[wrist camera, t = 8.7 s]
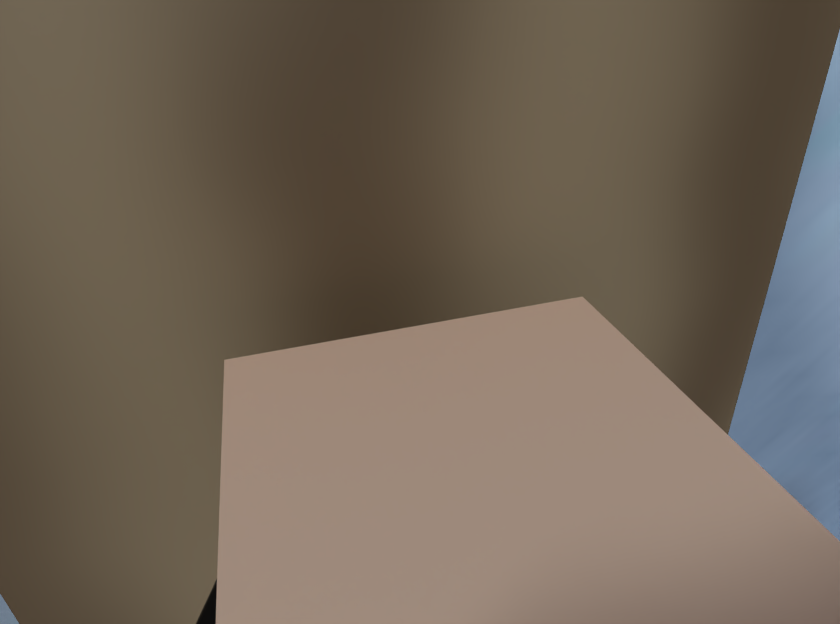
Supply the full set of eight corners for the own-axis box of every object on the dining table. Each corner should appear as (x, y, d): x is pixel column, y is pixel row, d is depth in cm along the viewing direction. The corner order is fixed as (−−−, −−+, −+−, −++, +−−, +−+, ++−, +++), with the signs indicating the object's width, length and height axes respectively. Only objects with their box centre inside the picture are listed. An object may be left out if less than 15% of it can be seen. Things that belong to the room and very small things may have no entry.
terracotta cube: (582, 295, 9) (906, 604, 4) (557, 532, 11) (749, 870, 7) (224, 359, 8) (207, 830, 4) (286, 602, 10) (319, 1045, 6)
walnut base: (722, -73, 11) (871, -87, 8) (624, 488, 18) (688, 574, 15) (-194, -30, 8) (-392, -28, 5) (120, 615, 15) (96, 745, 13)
